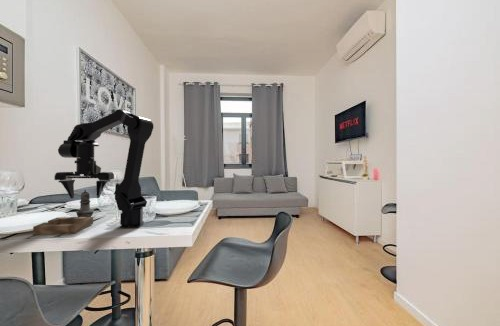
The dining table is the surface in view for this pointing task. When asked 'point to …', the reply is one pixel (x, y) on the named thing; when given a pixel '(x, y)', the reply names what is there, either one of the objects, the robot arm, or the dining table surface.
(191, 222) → the dining table surface
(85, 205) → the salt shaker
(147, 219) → the dining table surface
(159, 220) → the dining table surface
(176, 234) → the dining table surface
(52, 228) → the wooden tray
